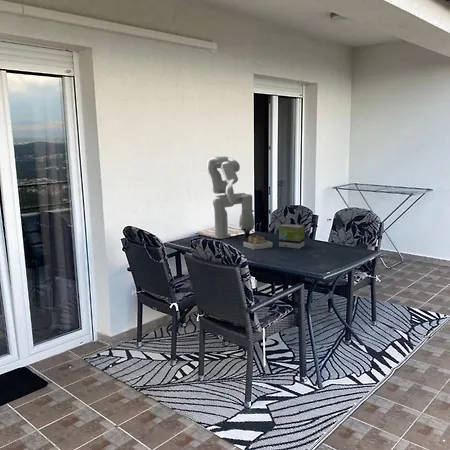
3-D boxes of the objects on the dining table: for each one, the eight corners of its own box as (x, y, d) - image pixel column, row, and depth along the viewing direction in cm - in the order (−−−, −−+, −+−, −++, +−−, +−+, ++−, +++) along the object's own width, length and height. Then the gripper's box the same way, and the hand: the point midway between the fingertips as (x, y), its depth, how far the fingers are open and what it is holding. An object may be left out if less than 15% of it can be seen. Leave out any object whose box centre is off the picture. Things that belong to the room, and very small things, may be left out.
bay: (243, 246, 321) (243, 241, 321) (261, 243, 329) (261, 239, 328) (253, 249, 310) (253, 245, 309) (272, 246, 317) (272, 242, 316)
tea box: (278, 247, 316) (278, 225, 314) (283, 244, 325) (283, 223, 323) (299, 249, 309) (300, 227, 307) (304, 246, 318) (304, 224, 316)
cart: (247, 245, 322) (247, 236, 321) (257, 244, 326) (257, 235, 325) (255, 248, 314) (255, 239, 313) (265, 246, 318) (265, 237, 317)
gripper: (253, 210, 334) (253, 235, 337) (235, 212, 326) (235, 238, 330) (258, 211, 327) (258, 237, 331) (240, 213, 320) (240, 240, 323)
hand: (247, 237), depth 330 cm, fingers closed
